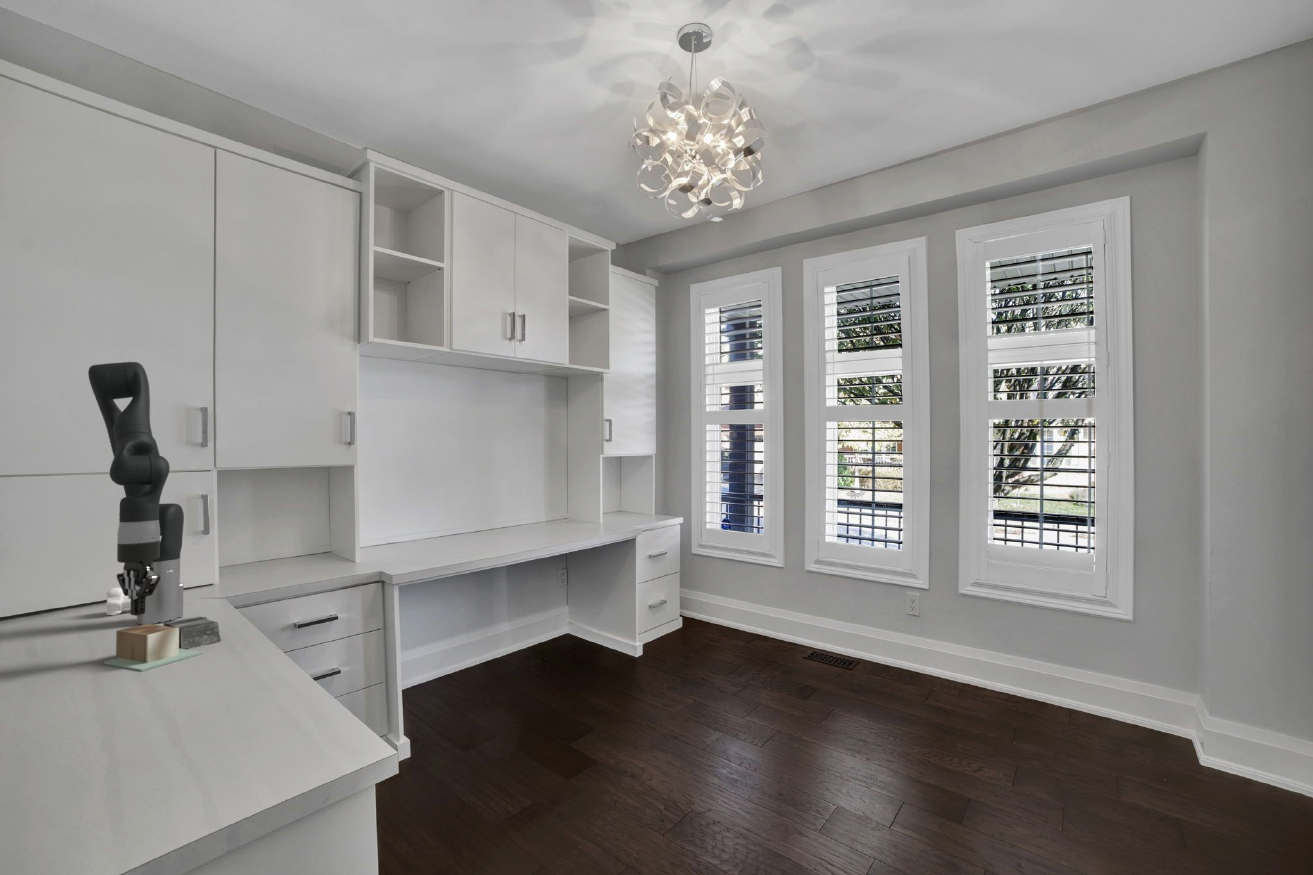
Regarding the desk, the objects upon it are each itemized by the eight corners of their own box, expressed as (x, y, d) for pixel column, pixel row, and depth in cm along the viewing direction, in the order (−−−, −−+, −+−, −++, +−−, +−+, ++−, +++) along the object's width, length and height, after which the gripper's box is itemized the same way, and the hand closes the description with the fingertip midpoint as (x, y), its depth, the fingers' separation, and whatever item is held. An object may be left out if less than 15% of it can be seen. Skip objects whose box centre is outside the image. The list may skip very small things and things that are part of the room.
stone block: (205, 632, 156) (206, 612, 156) (224, 642, 147) (225, 621, 148) (162, 641, 149) (163, 620, 149) (180, 651, 140) (180, 629, 140)
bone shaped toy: (105, 620, 171) (105, 592, 171) (109, 611, 178) (109, 585, 178) (171, 611, 180) (171, 585, 180) (173, 603, 187) (173, 578, 187)
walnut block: (147, 623, 141) (179, 627, 136) (146, 649, 141) (178, 654, 136) (116, 630, 135) (148, 635, 131) (115, 657, 135) (147, 662, 130)
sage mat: (165, 647, 143) (165, 645, 143) (202, 653, 138) (202, 652, 138) (103, 663, 132) (103, 661, 132) (141, 671, 126) (141, 669, 126)
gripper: (174, 539, 139) (173, 612, 138) (140, 537, 144) (139, 608, 143) (137, 543, 132) (135, 621, 131) (102, 541, 137) (101, 616, 136)
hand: (137, 614), depth 137 cm, fingers closed
